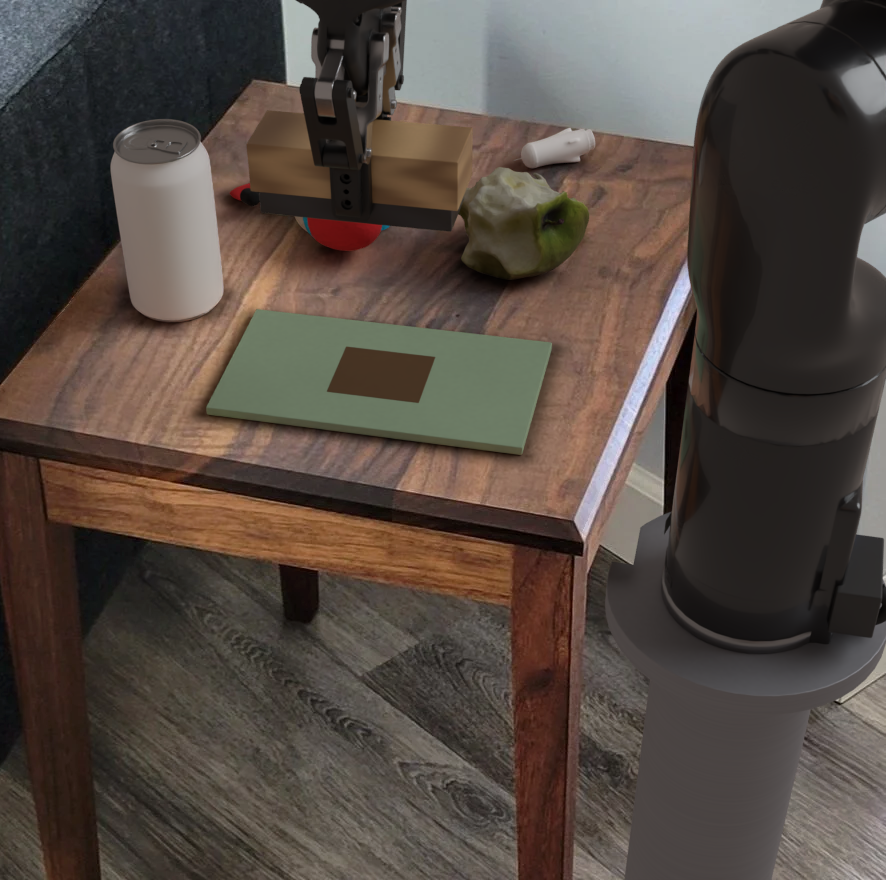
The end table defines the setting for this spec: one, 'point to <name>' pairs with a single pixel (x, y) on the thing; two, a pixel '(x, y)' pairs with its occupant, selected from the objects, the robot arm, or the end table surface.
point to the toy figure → (324, 226)
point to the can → (167, 220)
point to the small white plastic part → (558, 148)
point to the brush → (392, 165)
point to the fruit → (519, 225)
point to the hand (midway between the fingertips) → (363, 195)
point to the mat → (384, 380)
